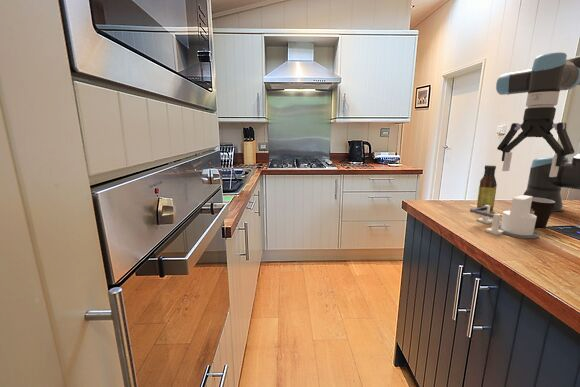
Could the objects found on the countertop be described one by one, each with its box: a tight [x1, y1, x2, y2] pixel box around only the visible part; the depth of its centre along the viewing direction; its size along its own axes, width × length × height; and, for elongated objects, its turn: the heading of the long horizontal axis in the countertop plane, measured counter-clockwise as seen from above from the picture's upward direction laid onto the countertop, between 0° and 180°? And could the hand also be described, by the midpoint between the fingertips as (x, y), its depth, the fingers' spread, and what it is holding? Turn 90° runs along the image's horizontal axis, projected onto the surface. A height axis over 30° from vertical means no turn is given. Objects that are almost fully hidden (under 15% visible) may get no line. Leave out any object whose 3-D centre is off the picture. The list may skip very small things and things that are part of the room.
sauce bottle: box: [476, 164, 498, 212], centre depth 124 cm, size 6×6×20 cm
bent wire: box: [469, 207, 495, 219], centre depth 103 cm, size 10×10×1 cm
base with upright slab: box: [500, 194, 537, 235], centre depth 97 cm, size 9×9×12 cm
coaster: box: [499, 224, 540, 240], centre depth 98 cm, size 12×12×1 cm
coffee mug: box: [530, 197, 555, 230], centre depth 106 cm, size 12×9×10 cm
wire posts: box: [476, 205, 504, 236], centre depth 103 cm, size 18×6×6 cm, turn 159°
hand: (527, 173), depth 94 cm, fingers open, 13 cm apart
